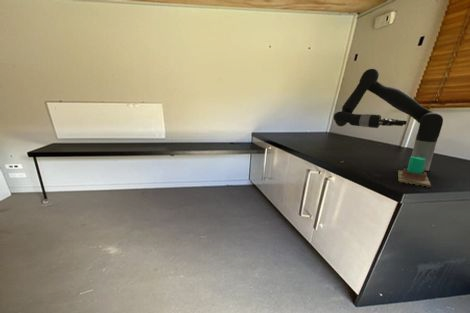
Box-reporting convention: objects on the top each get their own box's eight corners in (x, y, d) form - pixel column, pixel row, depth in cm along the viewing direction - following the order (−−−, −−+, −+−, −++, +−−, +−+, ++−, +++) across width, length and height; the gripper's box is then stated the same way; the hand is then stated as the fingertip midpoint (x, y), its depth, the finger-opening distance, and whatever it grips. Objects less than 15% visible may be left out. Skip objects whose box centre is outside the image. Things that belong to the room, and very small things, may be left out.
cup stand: (398, 172, 117) (399, 165, 116) (426, 177, 110) (428, 169, 109) (398, 181, 103) (400, 173, 102) (430, 187, 96) (432, 179, 95)
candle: (404, 177, 106) (410, 154, 103) (406, 174, 110) (411, 152, 107) (420, 180, 102) (426, 157, 99) (421, 177, 106) (427, 154, 103)
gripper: (367, 114, 114) (403, 116, 103) (374, 114, 124) (408, 115, 112) (364, 128, 116) (400, 131, 105) (372, 126, 125) (405, 129, 114)
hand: (404, 123), depth 108 cm, fingers open, 8 cm apart
